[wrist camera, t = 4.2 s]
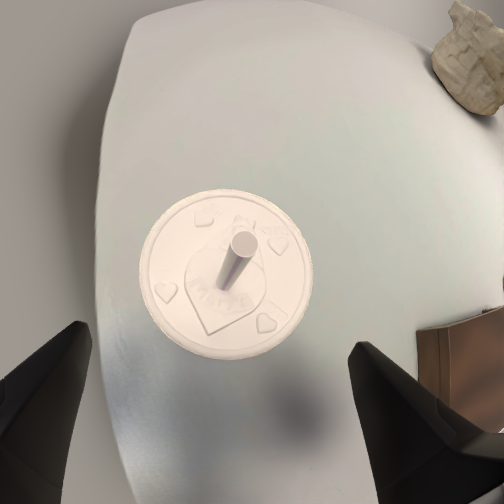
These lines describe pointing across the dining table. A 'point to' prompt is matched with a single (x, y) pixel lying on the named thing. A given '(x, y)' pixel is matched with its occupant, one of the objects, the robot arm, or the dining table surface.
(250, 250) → the smoothie
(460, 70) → the ceramic vessel
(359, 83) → the dining table surface
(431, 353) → the wooden jewelry box
